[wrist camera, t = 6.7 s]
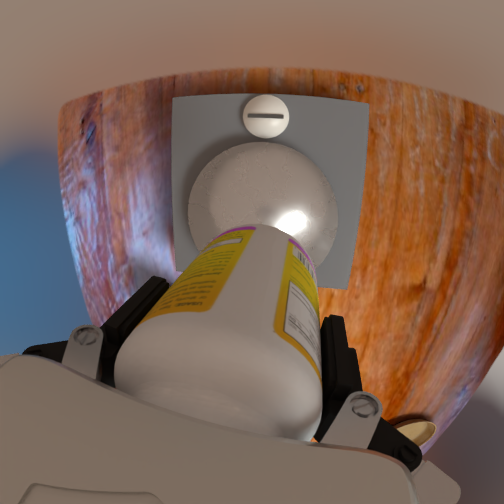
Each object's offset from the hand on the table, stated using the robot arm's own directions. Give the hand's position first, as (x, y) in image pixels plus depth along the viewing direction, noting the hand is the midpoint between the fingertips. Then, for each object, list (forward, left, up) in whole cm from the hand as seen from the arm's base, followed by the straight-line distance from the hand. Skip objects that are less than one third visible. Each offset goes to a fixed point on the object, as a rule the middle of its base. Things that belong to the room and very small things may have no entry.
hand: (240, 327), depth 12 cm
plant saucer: (-15, -54, -24) cm, 61 cm away
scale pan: (-1, +1, -18) cm, 18 cm away
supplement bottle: (0, 0, -5) cm, 5 cm away
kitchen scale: (+1, +3, -23) cm, 24 cm away
